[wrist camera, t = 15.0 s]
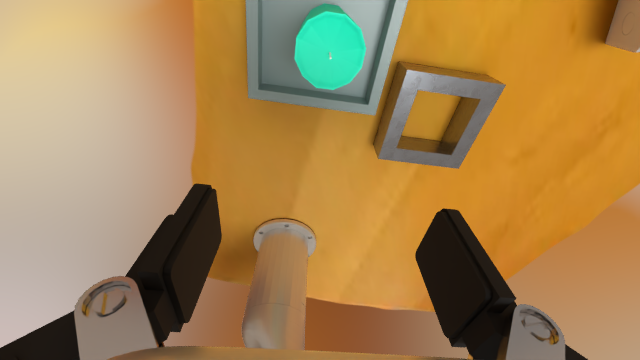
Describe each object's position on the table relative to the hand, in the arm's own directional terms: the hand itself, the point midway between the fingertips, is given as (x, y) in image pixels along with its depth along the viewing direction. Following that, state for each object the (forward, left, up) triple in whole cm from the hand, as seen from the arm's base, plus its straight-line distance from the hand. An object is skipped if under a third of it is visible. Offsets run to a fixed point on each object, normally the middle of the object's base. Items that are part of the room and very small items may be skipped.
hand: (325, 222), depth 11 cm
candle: (+4, 0, -26) cm, 26 cm away
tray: (+4, 0, -27) cm, 27 cm away
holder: (-4, -16, -27) cm, 31 cm away
